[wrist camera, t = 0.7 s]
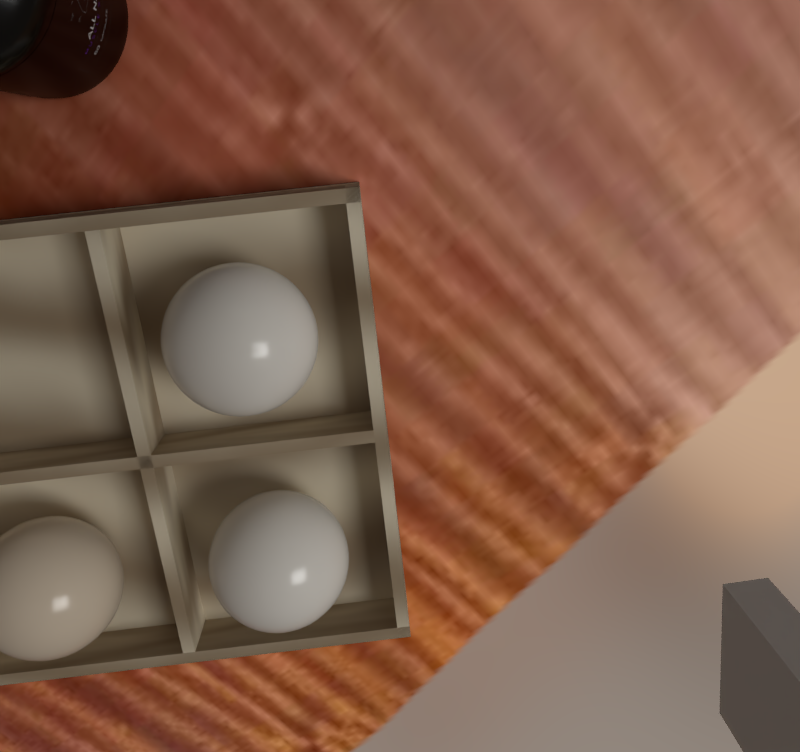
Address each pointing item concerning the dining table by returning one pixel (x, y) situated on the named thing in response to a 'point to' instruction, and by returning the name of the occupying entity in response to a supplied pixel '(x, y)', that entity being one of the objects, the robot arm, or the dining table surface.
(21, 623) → the egg
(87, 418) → the crate
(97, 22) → the supplement bottle
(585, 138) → the dining table surface
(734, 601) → the robot arm
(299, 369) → the egg
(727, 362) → the dining table surface
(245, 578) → the egg
